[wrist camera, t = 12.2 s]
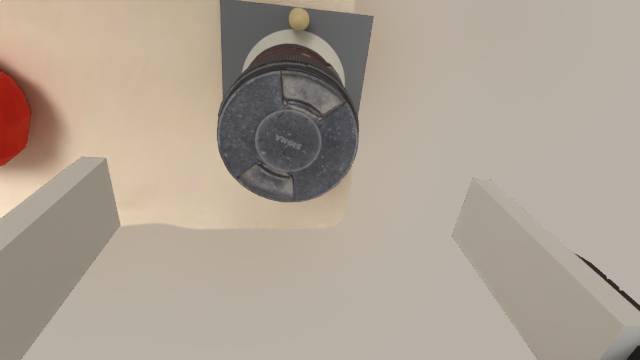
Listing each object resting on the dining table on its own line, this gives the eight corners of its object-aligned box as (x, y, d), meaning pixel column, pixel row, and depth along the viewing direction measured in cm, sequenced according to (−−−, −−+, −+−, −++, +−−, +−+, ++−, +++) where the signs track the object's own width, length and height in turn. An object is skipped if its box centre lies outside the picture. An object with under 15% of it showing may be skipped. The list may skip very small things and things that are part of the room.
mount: (225, 142, 34) (218, 157, 31) (221, -2, 28) (212, -2, 25) (350, 150, 36) (357, 165, 33) (371, 15, 30) (381, 17, 27)
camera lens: (258, 23, 29) (233, 39, 15) (345, 57, 31) (389, 97, 17) (235, 111, 32) (197, 186, 19) (315, 137, 34) (332, 222, 21)
